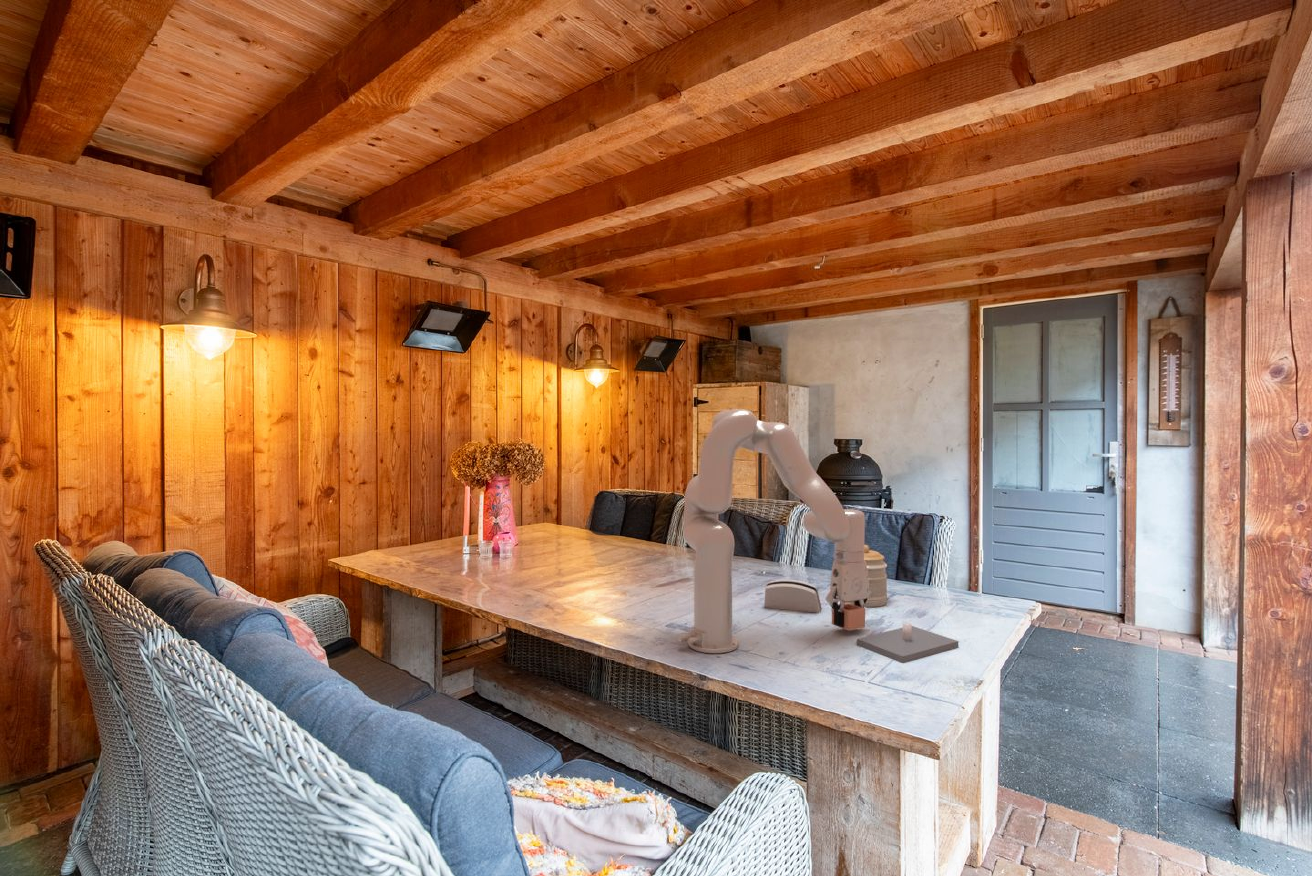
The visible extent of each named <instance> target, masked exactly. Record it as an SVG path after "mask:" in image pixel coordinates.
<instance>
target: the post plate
mask: <svg viewBox="0 0 1312 876" xmlns="http://www.w3.org/2000/svg"><path fill="white" fill-rule="evenodd" d="M856 646H860V647H861V648H864V649H866V650H869V651H872V652H874V653H877V654H879V655H882V656H884V657H887V658H890V659H892V660H895V661H897V662H900V663H907V662H911V661H914V660H918V659H921V658H925V657H929V656H932V655H935V654H939V653H943V652H946V651H950V650H953V649H956V648H957V649H958V648H959V640H956V639H953V638H950V637H948V636H947V637H946V636H943V635H942V634H937V633H935V632H932V631H929V630H926V629H923V628H920V627H917V626H913V624H912V623H911V622H903V623H902V627H900V628H896V629H892V630H887V631H883V632H879V633H875V634H872V635H871V634H870V635H867V636H861V637H858V638H856Z"/></svg>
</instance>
